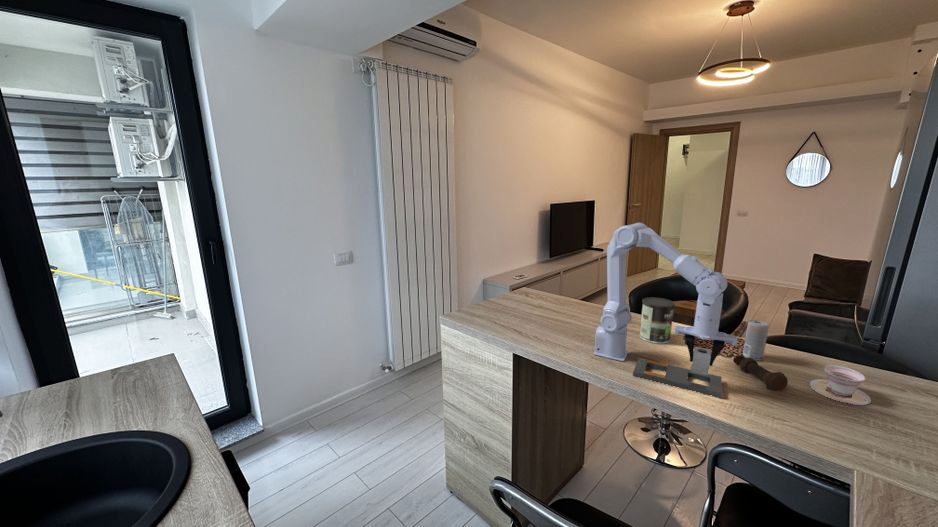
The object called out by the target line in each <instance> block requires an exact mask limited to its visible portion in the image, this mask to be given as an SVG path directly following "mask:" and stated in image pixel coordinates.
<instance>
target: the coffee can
mask: <svg viewBox="0 0 938 527" xmlns="http://www.w3.org/2000/svg"><path fill="white" fill-rule="evenodd" d="M674 307H675V302H674V301H672V300H671V299H667V298H663V297H655V296H651V297H643V298H642V308H641V316H640V317H641V318H640V328H639V338H641V340H643V341H645V342H648V343H651V344H655V345H658V344H659V345H663V344H669V343H670V342H671V334H672V332H671V331H672V327H673V317H674V310H675V309H674Z"/></svg>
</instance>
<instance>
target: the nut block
mask: <svg viewBox="0 0 938 527" xmlns="http://www.w3.org/2000/svg"><path fill="white" fill-rule="evenodd" d="M711 352H712V349H708V348H703V347H698V346H694V353H693V362H691V369H690V370H691V372H695V373H699V374H704V375H708V374H709V373H710V372H709V370H710V366H709V365H710V359H711Z"/></svg>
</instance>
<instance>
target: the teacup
mask: <svg viewBox="0 0 938 527" xmlns="http://www.w3.org/2000/svg"><path fill="white" fill-rule="evenodd" d="M824 371H825V374H826V378H828V379H813V380H811V381H809V387H810V386H811V387H810V388H811V389H812V390H813V391H814V390H815V393H817V394H819V395H821V396H823V397H826V398H827V397H828V399H830V398H831V399H830V400H833V401H835V400H836V402H839V401H840V403H842V402H843V404H846V403H848V405H852V404H853V406H865V405H866V406H867V405H870V403H871V402H872V400H871V397H870V396H869V395H868V394H867V393H865V392H864V391H862V390H860V389H859V388H857V387H859V385H860V384H861V383H864V382H865V380H866V377H865V375H863V374H862V373H861V372H859V371H857V370H855V369H852V368H849V367H846V366H842V365H836V364H832V365H831V364H830V365H829V364H828V365H826V366H825V368H824ZM820 381H828V384H827V386H828V387H829V388H828V389H830V390H831V392H832V391H833V392H834V394H835V393H837V394H839V395H838V396H840V395H843V396H842V397H848V396H851V394H854V393H855V390H858V391H860V393H862V394H863V395H864V396H865V397H866V400H865V402H862V403H851V402H845V401H841V400H837V399H834V398H832V397H829V396H827V395H825V394H823V393H821V392H819V391H818V390H816V388H815V387H814V384H815V382H820ZM833 392H832V393H833ZM837 394H836V395H837Z"/></svg>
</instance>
